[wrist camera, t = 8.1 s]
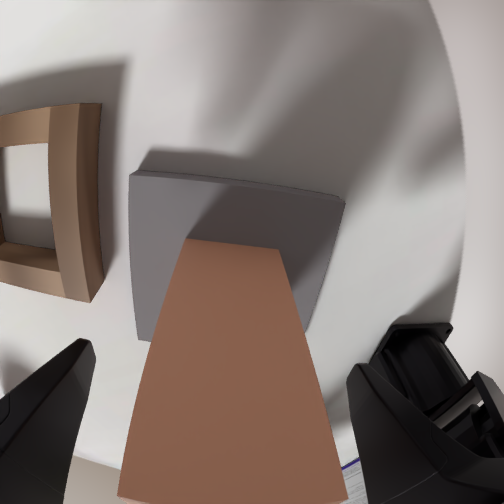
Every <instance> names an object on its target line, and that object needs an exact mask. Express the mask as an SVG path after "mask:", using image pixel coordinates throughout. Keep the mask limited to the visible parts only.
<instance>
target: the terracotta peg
mask: <svg viewBox="0 0 504 504" xmlns="http://www.w3.org/2000/svg"><path fill="white" fill-rule="evenodd" d="M117 496H118V497H120V498H121V499H122V500H123V501H125V502H126V503H127V504H339V503H341V502H343V501H345V500H347V499H349V498H348V494H347V490H346V485H345V481H344V477H343V473H342V469H341V465H340V461H339V457H338V453H337V449H336V445H335V442H334V438H333V434H332V430H331V426H330V423H329V419H328V415H327V411H326V408H325V404H324V400H323V397H322V393H321V389H320V386H319V382H318V379H317V375H316V372H315V368H314V365H313V361H312V358H311V354H310V351H309V347H308V344H307V340H306V337H305V334H304V330H303V327H302V324H301V320H300V317H299V314H298V310H297V307H296V304H295V300H294V297H293V294H292V291H291V287H290V284H289V281H288V278H287V274H286V271H285V268H284V265H283V262H282V258H281V255H280V252H279V249H271V248H263V247H254V246H246V245H238V244H229V243H221V242H213V241H204V240H196V239H187V238H185V240H184V243H183V246H182V249H181V252H180V254H179V257H178V260H177V263H176V266H175V269H174V272H173V275H172V277H171V280H170V283H169V286H168V289H167V293H166V296H165V299H164V302H163V305H162V308H161V311H160V314H159V318H158V321H157V324H156V328H155V331H154V334H153V338H152V341H151V345H150V348H149V352H148V355H147V359H146V362H145V366H144V370H143V374H142V377H141V381H140V385H139V389H138V393H137V397H136V401H135V406H134V410H133V414H132V419H131V423H130V428H129V432H128V437H127V442H126V447H125V452H124V457H123V463H122V468H121V474H120V480H119V487H118V493H117Z"/></svg>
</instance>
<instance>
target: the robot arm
mask: <svg viewBox="0 0 504 504" xmlns="http://www.w3.org/2000/svg"><path fill="white" fill-rule="evenodd" d="M452 330H453V327H452V325H451V324H450V323H438V324H412V325H394V326H392V327H391V328H390V329H389V330H388V332H387V334H386V336H385V338H384V339H383V341H382V343H381V345H380V346H379V348H378V350H377V352H376V353H375V355H374V357H373V358H372V360H371V362H370V363H369V365H368V364H367V363H357V364H355V366H354V367H353V369H352V370H351V372H350V374H349V375H348V377H347V381H346V384H347V392H348V400H349V408H350V416H351V422H352V426H353V431H354V435H355V440H356V444H357V449H358V453H359V458H360V463H361V468H362V473H363V478H364V483H365V489H366V494H367V500H368V504H504V395H503V393H502V392H501V390H500V389H499V387H498V386H497V385H496V383H495V382H494V380H493V379H492V378H490V377H488V376H486V375H484V374H483V373H481V372H479V371H477V372H476V373H475V374H474V375H473V376H472V377H471V379H470V380H469V379H468V378H467V376H466V374H465V373H464V371H463V370H462V369H461V367H460V365H459V364H458V362H457V361H456V359H455V358H454V356H453V355H452V354H451V352H450V351H449V349H448V348H447V346H446V345H445V341H446V340H447V338H448V337H449V335H450V333H451V332H452ZM95 363H96V356H95V353H94V349H93V346H92V343H91V341H90V340H87V339H83V338H79V339H77V340H76V341H74V342H73V343H72V344H70V345H69V346H68V347H66V348H65V349H64V350H62V351H61V352H60V353H59V354H57V355H56V356H55V357H53V358H52V359H51V360H49V361H48V362H47V363H45V364H44V365H43V366H42V367H40V368H39V369H38V370H36V371H35V372H34V373H33V374H31V375H30V376H29V377H28V378H26V379H25V380H24V381H22V382H21V383H20V384H19V385H17V386H16V387H15V388H14V389H12V390H11V391H10V393H7V394H6V395H5V396H4V397H2V398H1V399H0V504H63V500H64V493H65V488H66V483H67V478H68V473H69V468H70V464H71V459H72V455H73V451H74V447H75V443H76V439H77V435H78V432H79V428H80V425H81V421H82V418H83V414H84V411H85V408H86V404H87V401H88V396H89V392H90V386H91V382H92V377H93V372H94V368H95ZM481 400H483V402H484V404H483V405H482V406H480V407H479V406H478V405H477V404H478V403H479V402H480V401H481Z"/></svg>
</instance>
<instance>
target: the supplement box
mask: <svg viewBox="0 0 504 504" xmlns="http://www.w3.org/2000/svg"><path fill="white" fill-rule="evenodd" d="M341 469H342V473H343V477H344V481H345V485H346V490H347V494H348V498H349V499H347V500H345V501H344V504H368V500H367V494H366V489H365V483H364V478H363V473H362V468H361V463H360V458H357V459H355V460H354V461H352V462H351V463H349V464H347V465H346V466H344V467H342V468H341Z"/></svg>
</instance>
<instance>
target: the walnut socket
mask: <svg viewBox="0 0 504 504" xmlns="http://www.w3.org/2000/svg"><path fill="white" fill-rule="evenodd" d="M101 106H102V104H100V103H77V104H67V105H58V106H51V107H44V108H37V109H31V110H26V111H20V112H15V113H11V114H6V115H2V116H0V147H7V146H15V145H25V144H37V143H48V174H49V194H50V207H51V217H52V226H53V234H54V241H55V247H56V250H54V249H47V248H41V247H34V246H28V245H22V244H15V243H9V242H5V238H4V233H3V228H2V222H1V215H0V282H3V283H7V284H10V285H14V286H18V287H22V288H25V289H29V290H33V291H37V292H42V293H46V294H50V295H54V296H59V297H63V298H68V299H73V300H77V301H82V302H87V303H91V301H92V300H93V298H94V296H95V295H96V293H97V292H98V290H99V289H100V287H101V285H102V284H103V282H104V274H103V266H102V257H101V247H100V234H99V219H98V185H97V176H98V143H99V127H100V116H101Z"/></svg>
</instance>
